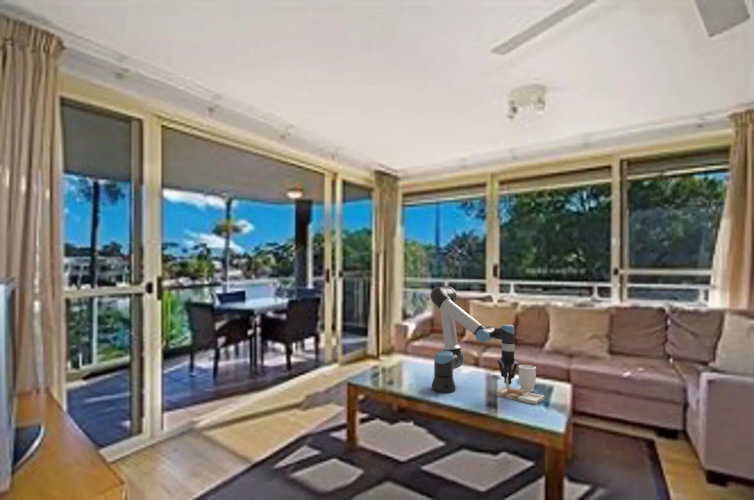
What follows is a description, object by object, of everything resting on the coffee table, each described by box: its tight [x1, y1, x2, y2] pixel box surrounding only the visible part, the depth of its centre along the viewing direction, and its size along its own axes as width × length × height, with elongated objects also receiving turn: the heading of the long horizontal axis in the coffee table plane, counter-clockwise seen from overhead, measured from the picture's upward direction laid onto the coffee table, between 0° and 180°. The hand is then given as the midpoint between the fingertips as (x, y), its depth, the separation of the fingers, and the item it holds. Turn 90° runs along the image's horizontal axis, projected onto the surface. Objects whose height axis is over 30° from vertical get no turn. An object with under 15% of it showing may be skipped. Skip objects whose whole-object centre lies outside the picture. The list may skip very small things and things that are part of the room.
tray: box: [517, 392, 546, 406], centre depth 260 cm, size 10×14×2 cm
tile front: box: [515, 388, 525, 395], centre depth 264 cm, size 4×4×2 cm
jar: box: [518, 364, 537, 393], centre depth 280 cm, size 11×10×15 cm
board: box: [495, 386, 527, 401], centre depth 268 cm, size 14×12×2 cm
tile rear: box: [507, 386, 517, 393], centre depth 267 cm, size 4×4×2 cm
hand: (507, 389), depth 269 cm, fingers closed
